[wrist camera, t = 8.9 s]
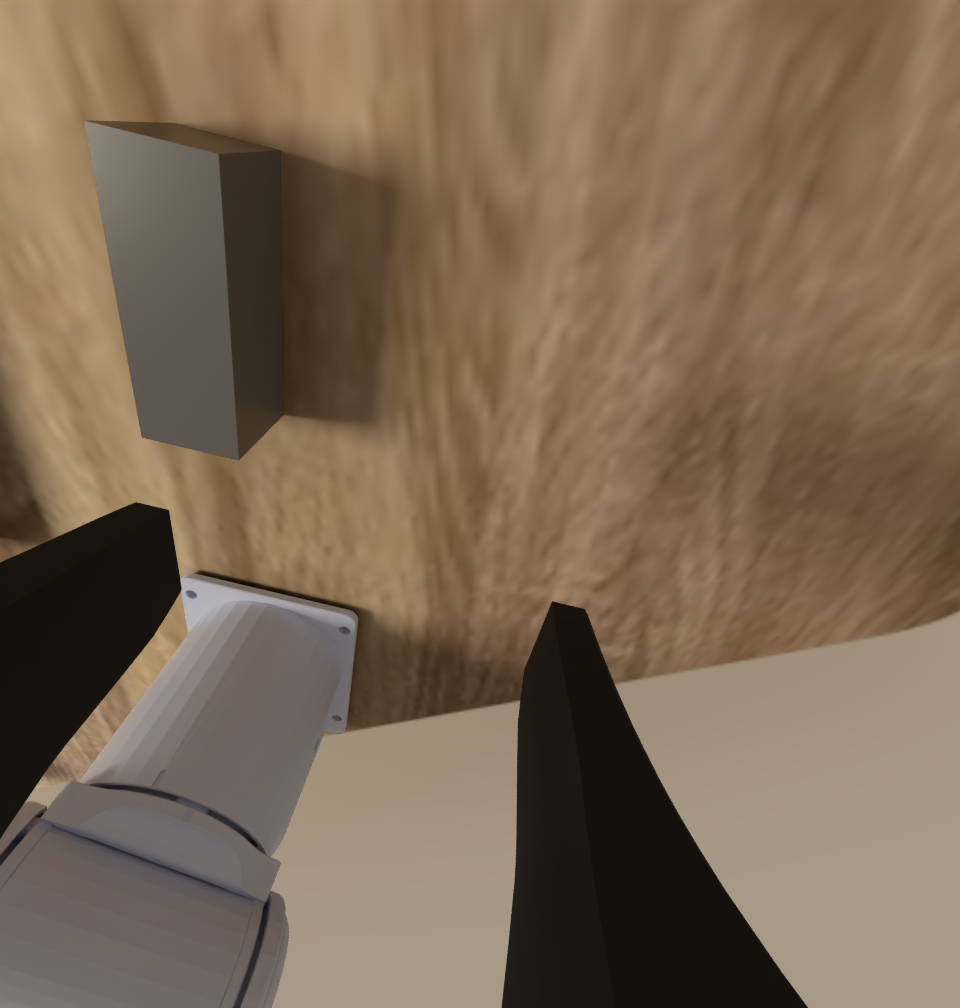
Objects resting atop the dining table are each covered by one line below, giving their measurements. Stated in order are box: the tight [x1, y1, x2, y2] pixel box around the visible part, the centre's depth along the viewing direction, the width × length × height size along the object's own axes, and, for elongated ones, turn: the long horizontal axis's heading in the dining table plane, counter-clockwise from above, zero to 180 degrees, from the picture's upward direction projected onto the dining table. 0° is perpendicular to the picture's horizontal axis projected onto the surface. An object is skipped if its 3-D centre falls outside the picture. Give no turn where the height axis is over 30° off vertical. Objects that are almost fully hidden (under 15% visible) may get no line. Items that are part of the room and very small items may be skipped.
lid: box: [84, 120, 283, 460], centre depth 16 cm, size 15×15×4 cm
